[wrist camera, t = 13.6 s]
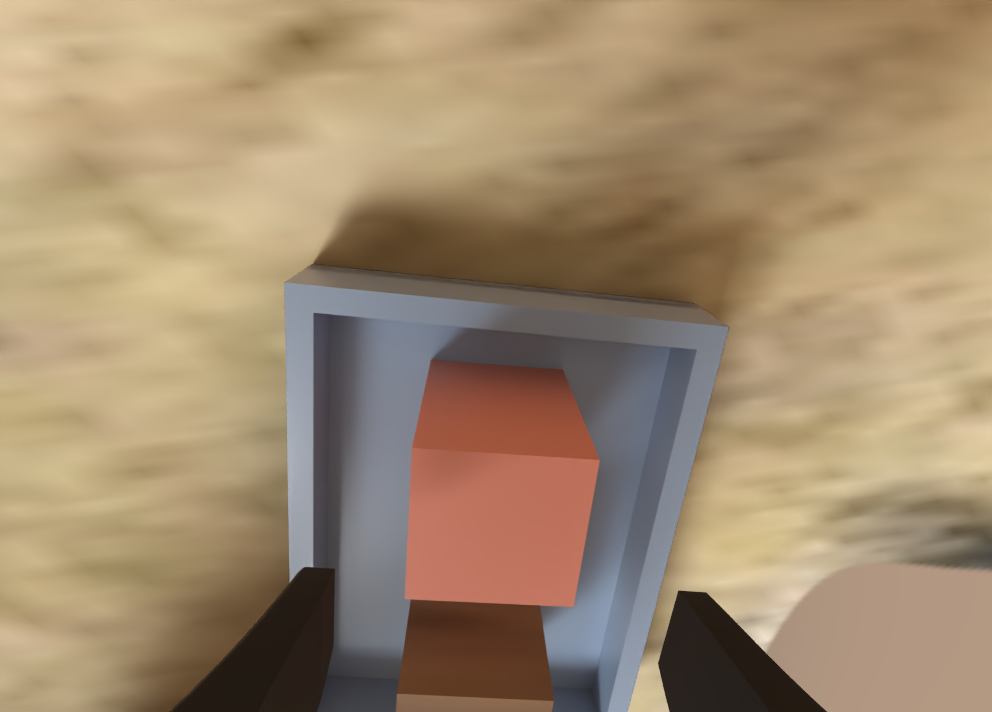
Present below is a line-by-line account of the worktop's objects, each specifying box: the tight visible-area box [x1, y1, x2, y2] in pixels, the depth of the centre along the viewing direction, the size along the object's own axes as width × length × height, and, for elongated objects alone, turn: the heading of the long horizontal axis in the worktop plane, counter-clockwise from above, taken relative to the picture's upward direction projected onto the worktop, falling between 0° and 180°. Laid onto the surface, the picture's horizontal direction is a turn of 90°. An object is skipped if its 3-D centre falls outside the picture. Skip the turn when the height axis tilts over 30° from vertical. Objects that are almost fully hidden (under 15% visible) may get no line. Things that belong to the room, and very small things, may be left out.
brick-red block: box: [405, 360, 600, 607], centre depth 17 cm, size 4×4×6 cm
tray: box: [285, 264, 729, 712], centre depth 20 cm, size 18×13×3 cm
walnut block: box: [396, 599, 554, 712], centre depth 19 cm, size 4×4×6 cm
